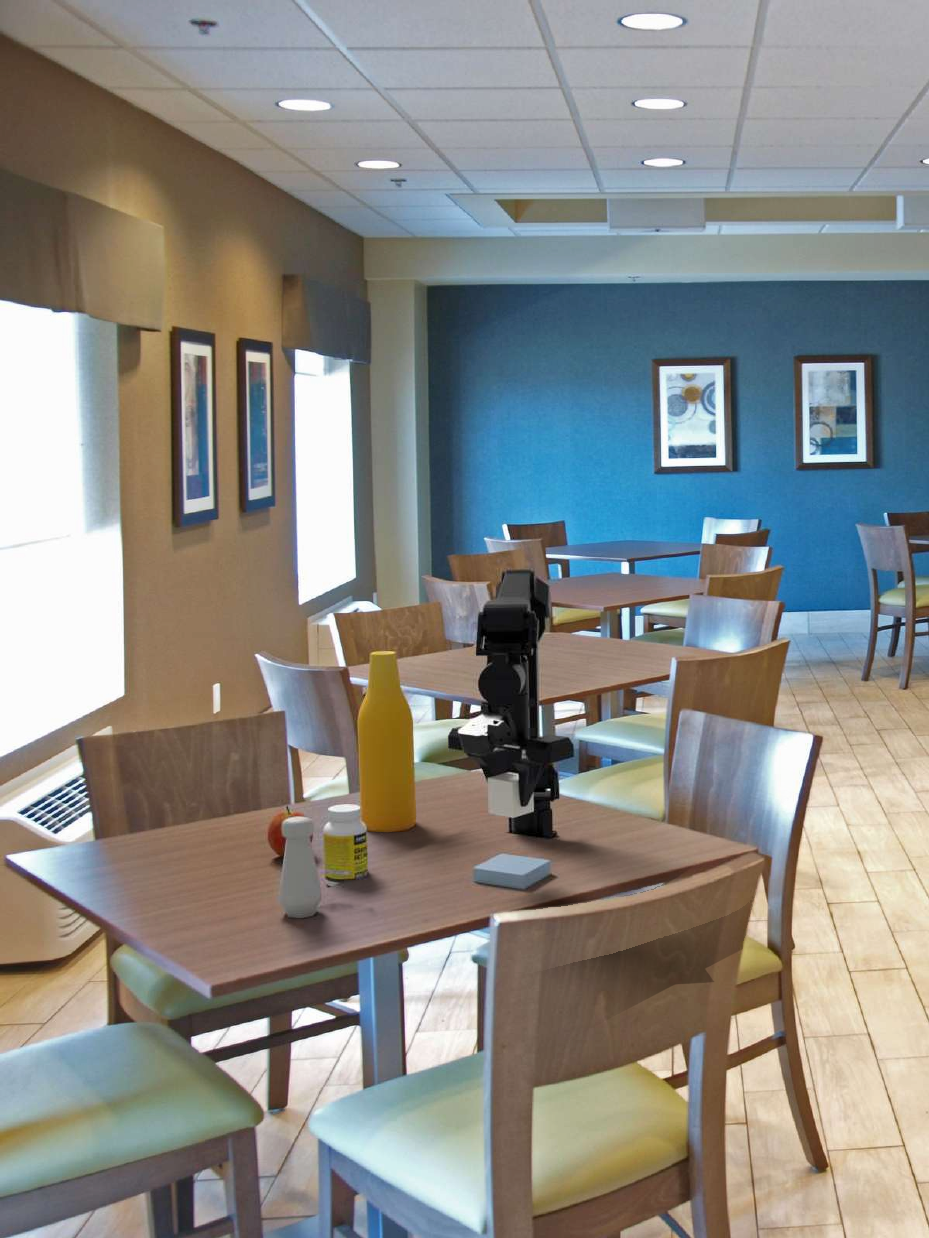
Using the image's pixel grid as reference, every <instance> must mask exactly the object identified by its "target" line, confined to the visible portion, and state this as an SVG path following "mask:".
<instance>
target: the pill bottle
mask: <svg viewBox="0 0 929 1238" xmlns="http://www.w3.org/2000/svg"><path fill="white" fill-rule="evenodd" d="M327 816H328V819H329V822H327V823H326V824H325V825H324V827H323V853H324V856H323V857H324V879H325V884H326V885H327V886H328V887H334V886H336V885H338V884H341V883H344V882H346V881H351V880H352V881H353V880H359V879H362V878H364V877H366V876H367V875H369V864H368V863H369V861H368V858H369V857H368V830H367V828H366V825H365V824H364V823H363V822H362V821H361V805H358V804H349V803H348V804H347V803H346V804H344V803H343V804H336V805H332V806H330V807H328V809H327Z"/></svg>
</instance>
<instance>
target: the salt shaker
mask: <svg viewBox="0 0 929 1238" xmlns="http://www.w3.org/2000/svg"><path fill="white" fill-rule="evenodd" d="M314 826H315V825H314V821H313V820H312V819H311V818H309V817H307V816H306V817H291V818H287V819H285V820H284V821H283V822H282V828H281V830H282V835H283V837H285V838H286V845H285V853H284V857H283V862H282V867H281V878H280V885H279V891H278V901H279V904H280V905H281V907H282V908H283V910H284V912H285V914H286V916H287V918H295V919H302V918H307V917H313V916H314V915H315V914H316V912H317V910H318V909H319V905H320V903H321V901H322V895H323V892H322V887H321V883H320V879H319V878H320V877H319V873H318V869H317V868H318V867H317V864H316V860H315V855H314V850H313V846H312V843H311V841H310V836H311V835H313V836H314V830H315V829H314V828H315V827H314Z"/></svg>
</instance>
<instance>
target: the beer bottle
mask: <svg viewBox="0 0 929 1238" xmlns="http://www.w3.org/2000/svg"><path fill="white" fill-rule="evenodd" d="M369 654H370V655H369V667H368V682H367V690H366V693H365V695H364V699H363V700H362V703H361V705H360V708H359V711H358V715H357V716H358V717H357V740H358V741H357V743H358V745H357V746H358V767H359V769H358V771H359V795H360V796H359V797H360V801H359V802H360V807H361V817H360V821H362V822H363V823H364V824H365V825H366V828H367V831H369V832H373V833H374V832H377V833H395V832H401V831H406V830H409V829H411V828H413V827H414V826H415V825H416V821H417V803H416V778H415V775H416V773H415V743H414V740H415V739H414V719H413V718H414V717H413V714H412V713H413V712H412V710H411V708H410V704H409V702H408V700H407V698H406V697H405V694H404V692H403V690H402V687H401V680H400V672H399V666H398V665H399V664H398V660H397V653H396V651H390V650H385V651H384V650H380V651H379V650H378V651H373V652H370V653H369Z"/></svg>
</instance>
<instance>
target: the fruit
mask: <svg viewBox="0 0 929 1238" xmlns="http://www.w3.org/2000/svg"><path fill="white" fill-rule="evenodd" d="M285 808H286V811H287V812H281V813H278V814H277V815H275V816H274V817H273V818H272V819H271V821H270V823H269V825H268V827H267V841H268V845H269V847H270V848H271V849H272V851H273V852H275V854H277V856H280V857H282V858H284V853H285V845H286V838H285V837H283V835H282V830H281V828H282V822H283V821H284V820H285V819H287V818H291V817H307V816H306V815H305V814H303V813H300V812H297V811H294V812H293V811H290V809H289V806H288V805H286V806H285ZM313 838H314V834H313V835H311V836H310V841H311V844H312V842H313V840H314V839H313Z"/></svg>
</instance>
